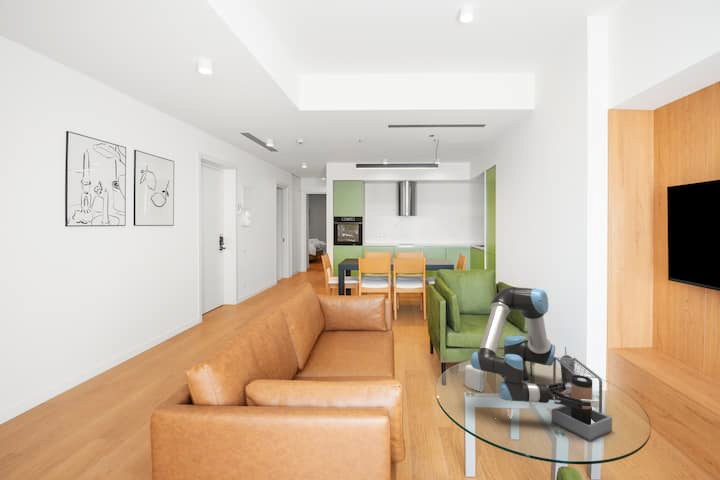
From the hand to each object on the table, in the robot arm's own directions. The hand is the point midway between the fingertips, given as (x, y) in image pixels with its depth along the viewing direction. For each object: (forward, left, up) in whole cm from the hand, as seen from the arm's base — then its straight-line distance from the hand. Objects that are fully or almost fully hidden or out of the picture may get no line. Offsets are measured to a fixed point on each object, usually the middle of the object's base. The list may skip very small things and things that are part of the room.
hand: (589, 396), depth 149 cm
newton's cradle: (-19, -18, -14) cm, 30 cm away
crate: (+3, -2, -13) cm, 14 cm away
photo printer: (+15, -51, -14) cm, 55 cm away
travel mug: (+3, -2, -13) cm, 13 cm away
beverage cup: (-37, -33, -14) cm, 52 cm away
